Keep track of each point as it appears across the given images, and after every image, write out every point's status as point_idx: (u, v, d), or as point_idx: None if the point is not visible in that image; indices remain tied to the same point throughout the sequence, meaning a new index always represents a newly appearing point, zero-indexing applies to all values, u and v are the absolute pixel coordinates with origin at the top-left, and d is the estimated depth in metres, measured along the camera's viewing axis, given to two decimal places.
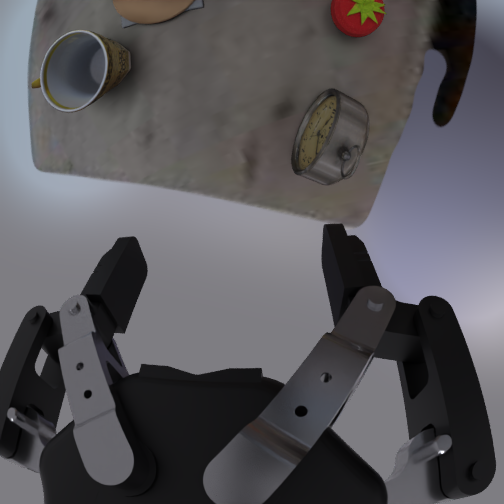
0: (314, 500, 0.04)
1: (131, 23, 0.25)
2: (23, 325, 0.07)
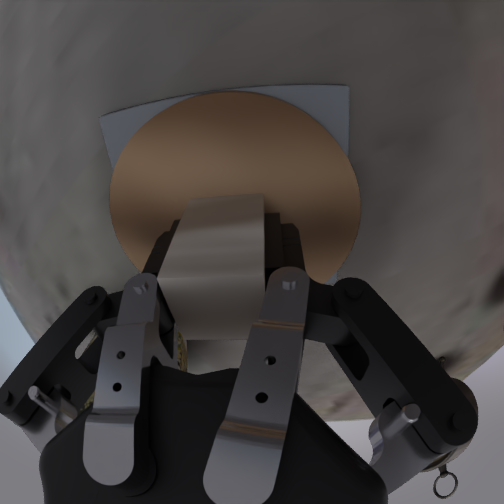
0: (314, 500, 0.04)
1: None
2: (77, 302, 0.08)
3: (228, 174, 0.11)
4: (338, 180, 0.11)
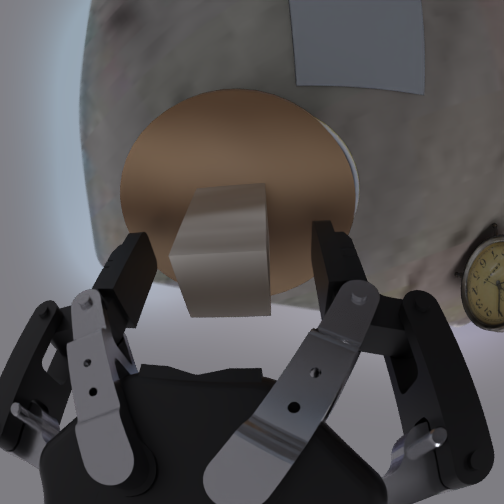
0: (314, 500, 0.04)
1: (315, 83, 0.18)
2: (33, 319, 0.08)
3: (232, 165, 0.12)
4: (334, 171, 0.12)
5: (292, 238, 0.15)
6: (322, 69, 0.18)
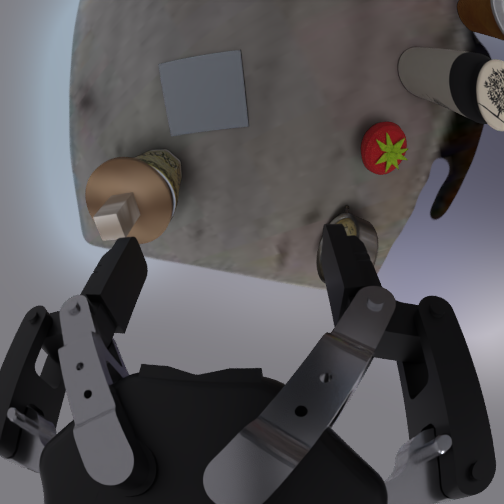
0: (314, 500, 0.04)
1: (180, 133, 0.37)
2: (23, 325, 0.07)
3: (121, 186, 0.31)
4: (156, 185, 0.31)
5: (148, 213, 0.33)
6: (183, 125, 0.36)
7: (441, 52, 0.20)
